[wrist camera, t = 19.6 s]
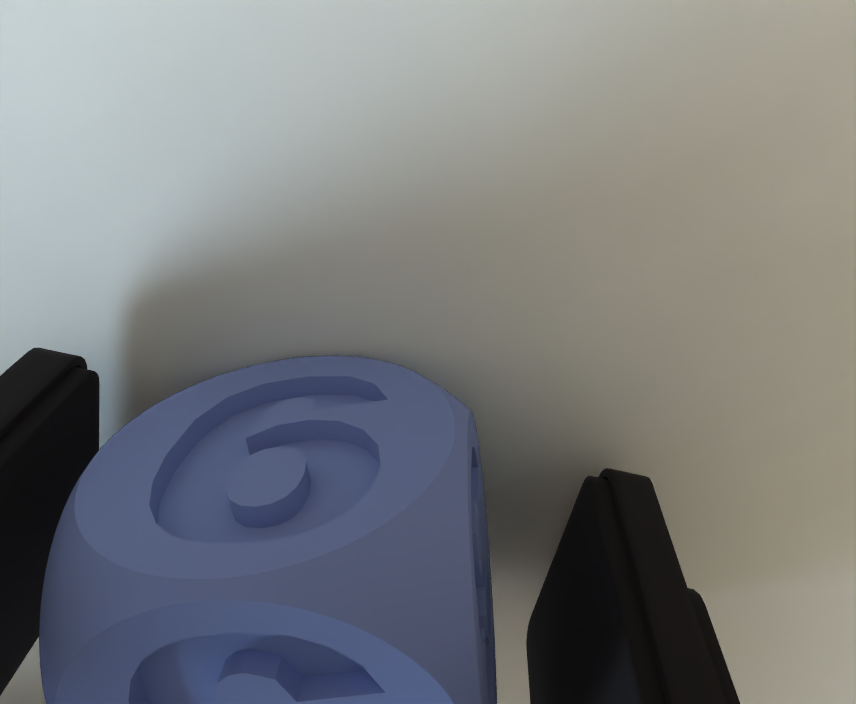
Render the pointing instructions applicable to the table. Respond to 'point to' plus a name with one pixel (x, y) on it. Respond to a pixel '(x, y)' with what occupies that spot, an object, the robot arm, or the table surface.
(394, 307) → the table surface
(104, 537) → the decorative dice
